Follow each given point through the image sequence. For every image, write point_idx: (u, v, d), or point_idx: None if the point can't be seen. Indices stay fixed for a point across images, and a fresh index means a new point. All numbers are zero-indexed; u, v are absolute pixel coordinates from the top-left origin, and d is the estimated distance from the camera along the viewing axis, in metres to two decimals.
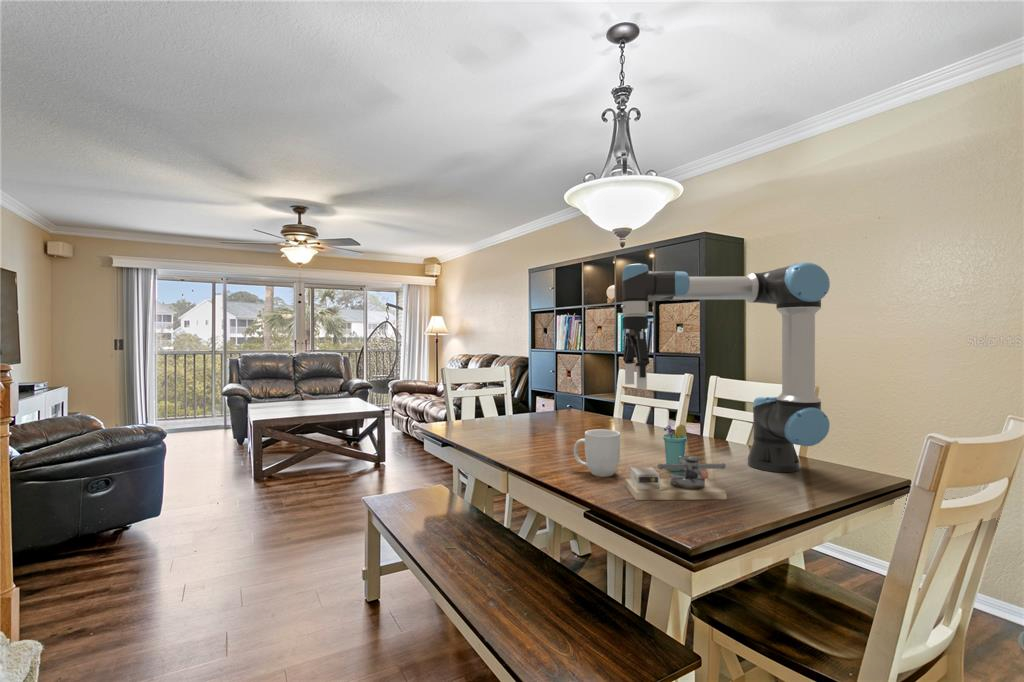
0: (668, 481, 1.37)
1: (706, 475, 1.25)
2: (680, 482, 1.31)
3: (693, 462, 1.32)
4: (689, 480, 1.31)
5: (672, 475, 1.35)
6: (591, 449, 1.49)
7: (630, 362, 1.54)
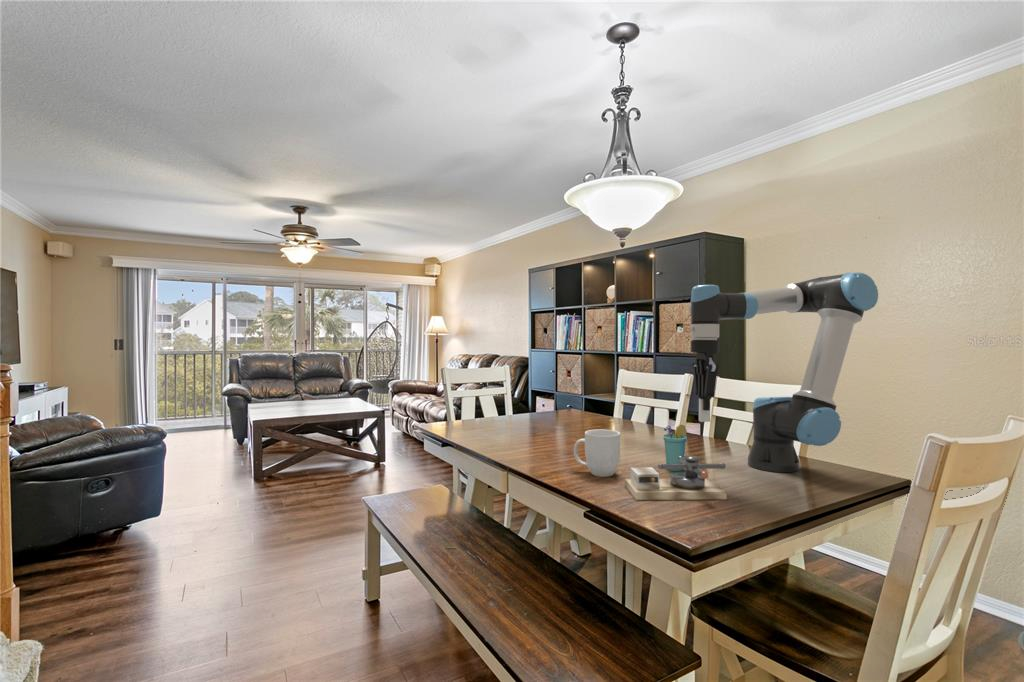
0: (668, 481, 1.37)
1: (706, 475, 1.25)
2: (680, 482, 1.31)
3: (693, 462, 1.32)
4: (689, 480, 1.31)
5: (672, 475, 1.35)
6: (591, 449, 1.49)
7: None
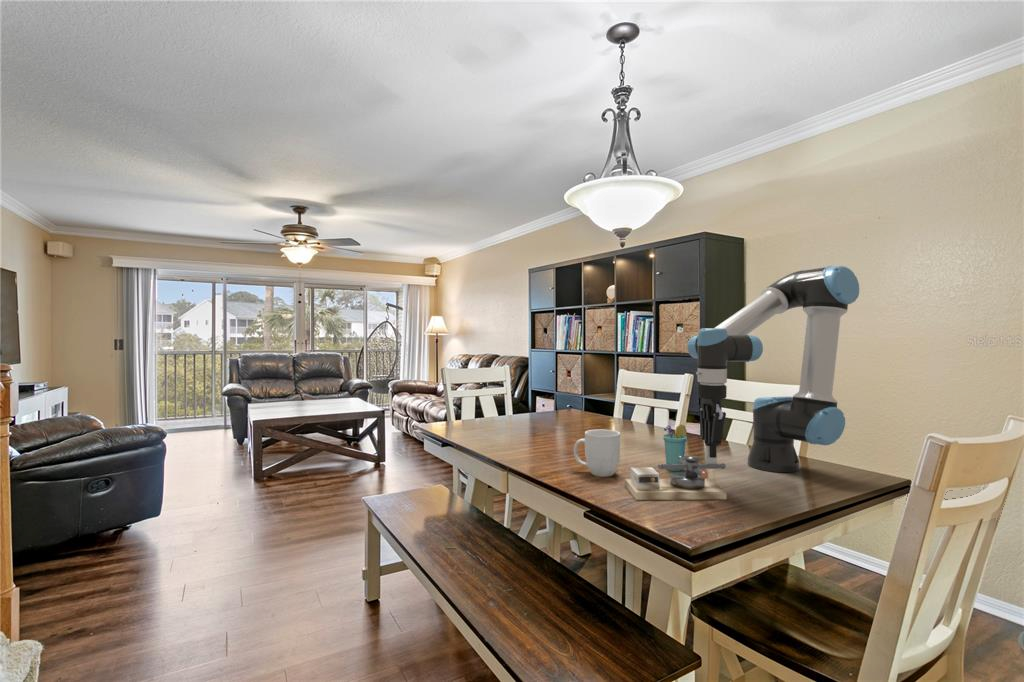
0: (668, 481, 1.37)
1: (706, 475, 1.25)
2: (680, 482, 1.31)
3: (693, 462, 1.32)
4: (689, 480, 1.31)
5: (672, 475, 1.35)
6: (591, 449, 1.49)
7: None
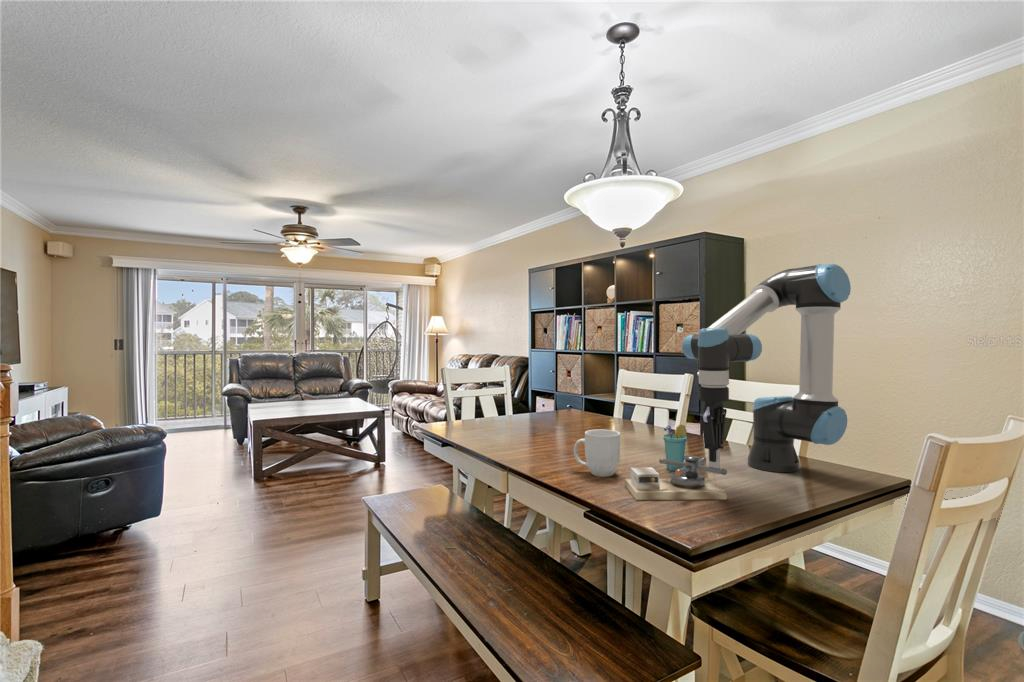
0: (668, 481, 1.37)
1: (678, 473, 1.27)
2: (671, 478, 1.34)
3: (689, 462, 1.33)
4: (679, 478, 1.33)
5: None
6: (591, 449, 1.49)
7: None
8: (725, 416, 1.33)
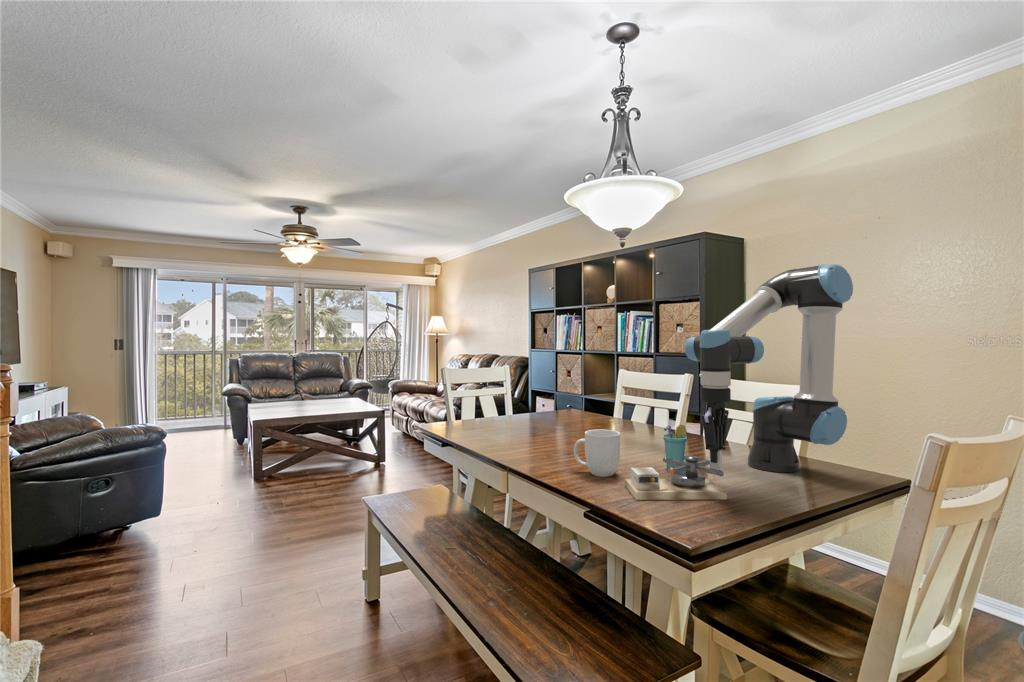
0: (668, 481, 1.37)
1: (670, 471, 1.28)
2: (671, 477, 1.36)
3: (687, 461, 1.33)
4: (677, 477, 1.34)
5: (679, 472, 1.39)
6: (591, 449, 1.49)
7: None
8: (727, 417, 1.34)
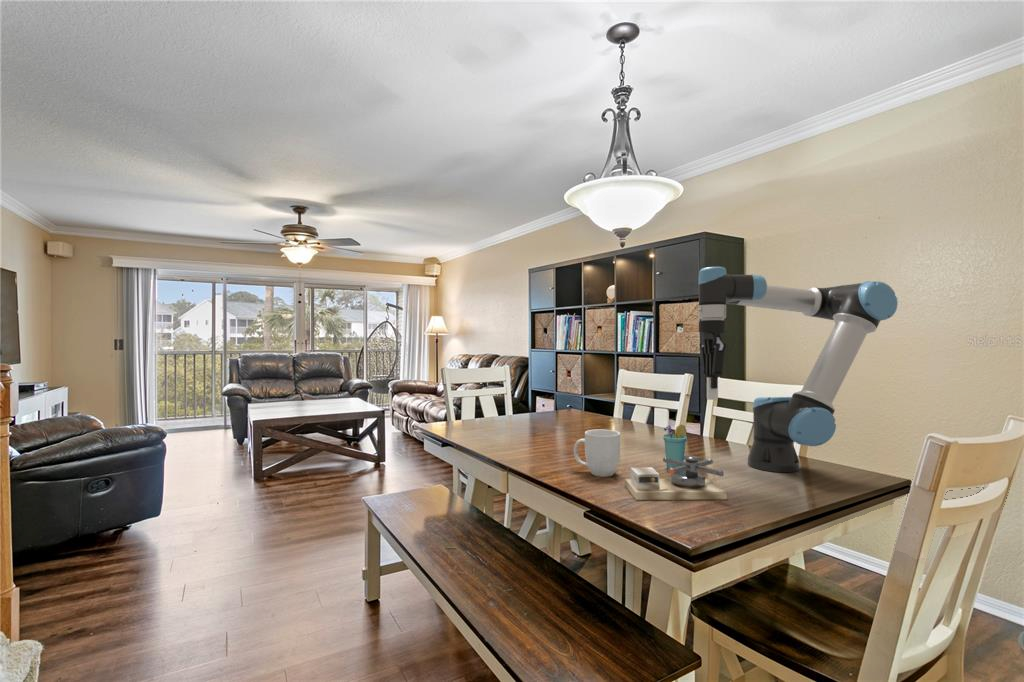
0: (668, 481, 1.37)
1: (670, 471, 1.28)
2: (671, 477, 1.36)
3: (687, 461, 1.33)
4: (677, 477, 1.34)
5: (679, 472, 1.39)
6: (591, 449, 1.49)
7: None
8: None
